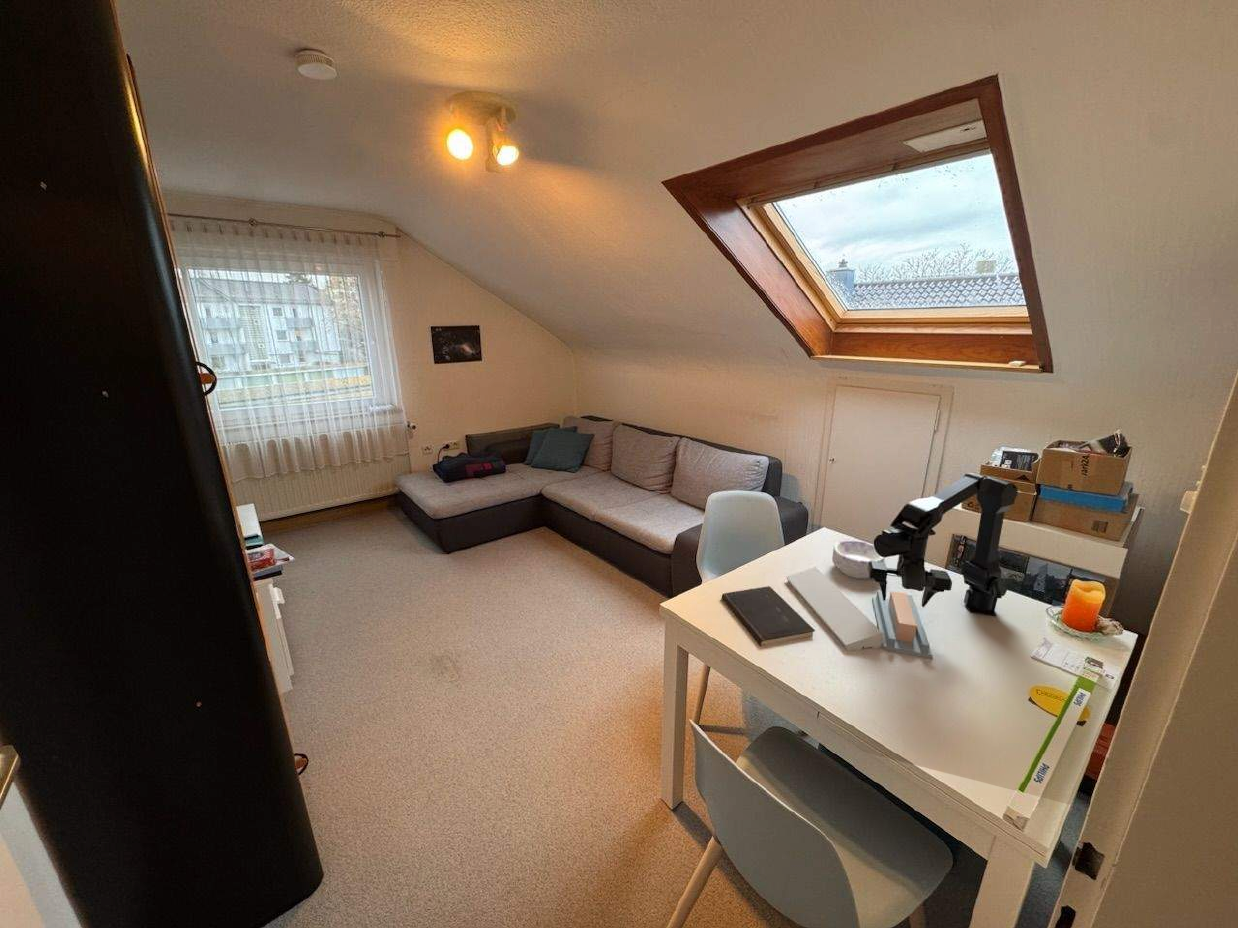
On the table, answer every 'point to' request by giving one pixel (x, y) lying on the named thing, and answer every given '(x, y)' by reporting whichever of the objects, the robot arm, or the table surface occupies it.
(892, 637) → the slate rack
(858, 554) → the white purple speckled bowl
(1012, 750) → the table surface
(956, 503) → the robot arm
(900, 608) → the clay strip
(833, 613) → the light grey long wedge
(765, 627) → the hardcover book
